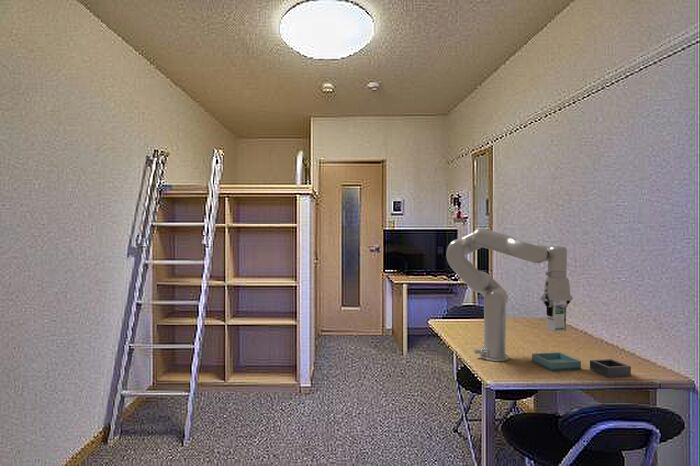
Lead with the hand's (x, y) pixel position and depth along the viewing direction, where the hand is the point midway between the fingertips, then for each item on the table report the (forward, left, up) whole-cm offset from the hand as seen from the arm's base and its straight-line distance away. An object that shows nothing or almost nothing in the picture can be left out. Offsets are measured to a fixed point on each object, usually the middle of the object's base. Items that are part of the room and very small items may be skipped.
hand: (556, 315), depth 198 cm
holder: (+16, -13, -22) cm, 30 cm away
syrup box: (0, 0, -7) cm, 7 cm away
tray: (0, 0, -22) cm, 22 cm away
